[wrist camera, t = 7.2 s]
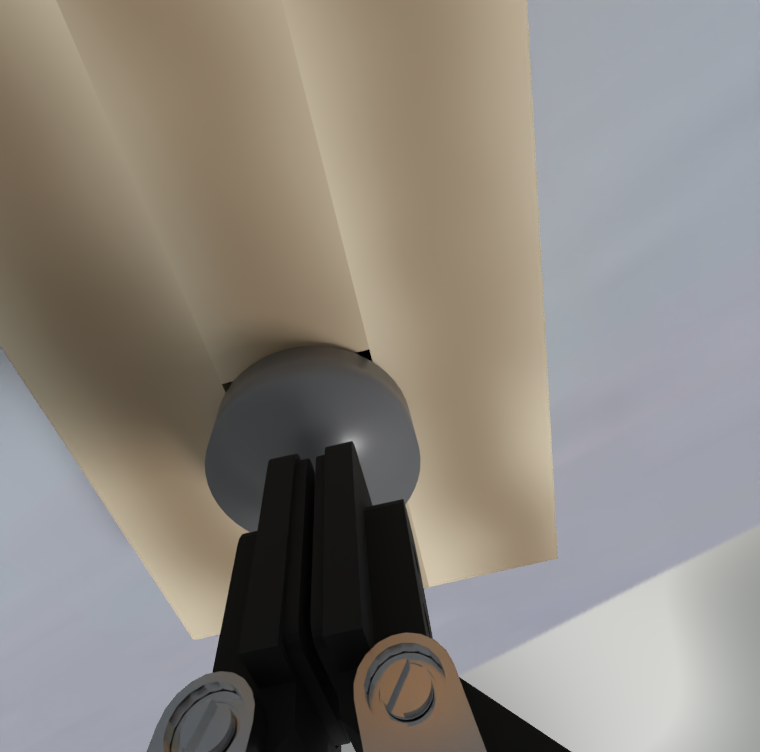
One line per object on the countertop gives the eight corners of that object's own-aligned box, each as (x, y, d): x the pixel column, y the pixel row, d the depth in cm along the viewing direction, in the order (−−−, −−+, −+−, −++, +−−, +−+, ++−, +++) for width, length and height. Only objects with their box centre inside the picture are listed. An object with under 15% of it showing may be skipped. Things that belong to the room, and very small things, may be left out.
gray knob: (374, 268, 15) (398, 355, 11) (404, 402, 18) (435, 522, 13) (215, 306, 15) (168, 409, 11) (267, 434, 18) (247, 565, 13)
